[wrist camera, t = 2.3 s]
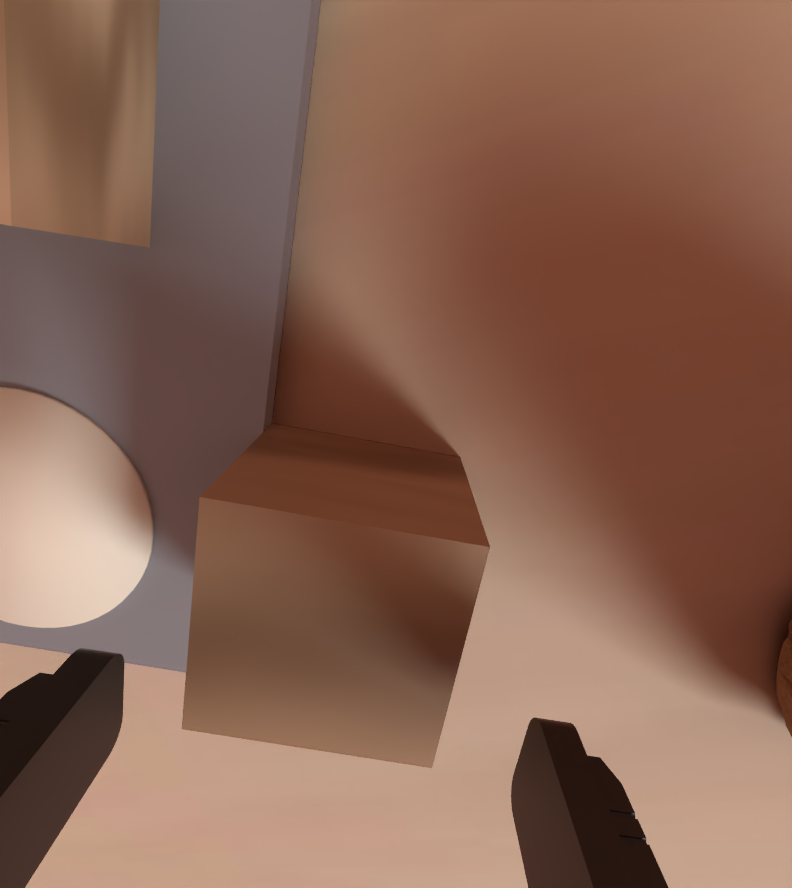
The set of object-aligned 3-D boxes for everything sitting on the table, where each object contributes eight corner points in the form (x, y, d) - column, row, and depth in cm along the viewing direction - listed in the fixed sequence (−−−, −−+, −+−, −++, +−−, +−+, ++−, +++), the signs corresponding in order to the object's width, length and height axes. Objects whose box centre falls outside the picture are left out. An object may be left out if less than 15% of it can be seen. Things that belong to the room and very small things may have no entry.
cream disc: (-121, 363, 15) (-128, 364, 14) (160, 413, 15) (157, 415, 15) (-95, 602, 17) (-100, 605, 17) (148, 641, 17) (145, 646, 17)
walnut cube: (272, 422, 16) (199, 496, 10) (459, 456, 16) (490, 547, 11) (253, 587, 18) (181, 729, 12) (423, 615, 18) (431, 767, 12)
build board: (-275, -229, 12) (-336, -275, 11) (332, -96, 12) (325, -129, 11) (-152, 595, 18) (-184, 613, 17) (243, 660, 19) (235, 680, 18)
